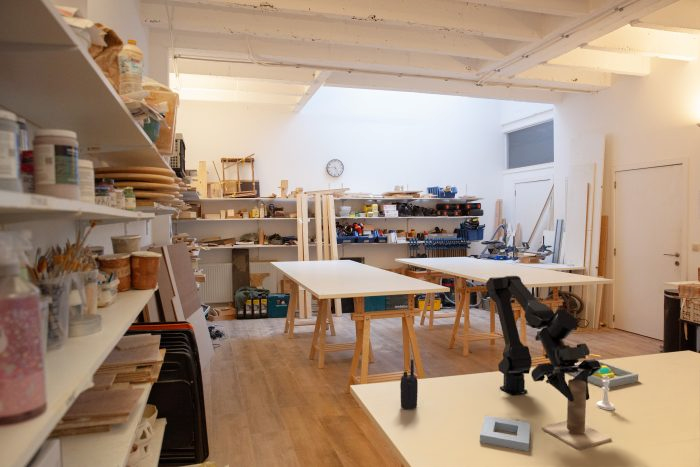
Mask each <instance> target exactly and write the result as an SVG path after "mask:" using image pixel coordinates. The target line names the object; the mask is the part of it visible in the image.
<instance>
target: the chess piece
mask: <svg viewBox="0 0 700 467" xmlns="http://www.w3.org/2000/svg"><path fill="white" fill-rule="evenodd" d="M603 378H605V380H603V381H602V382H603V385H604V387H601V390H603V396H602V400H598V401H597V402H596V407H597V408H599V409H601V410H605V411H606V410H607V411H613V410H615V405H614V404H613V403H611V402H610V400H609V393H608V391H610V388H608V386H609V383H610V381H608V380H607V379H609V377H607V375H605V377H603Z"/></svg>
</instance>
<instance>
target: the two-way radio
mask: <svg viewBox="0 0 700 467" xmlns="http://www.w3.org/2000/svg"><path fill="white" fill-rule="evenodd" d="M414 366H415V365H414V359H413V358H411V359H410V374H408V372H407V371H403V375H402V376H401V378H400V383H399V386H400V387H399V388H400V408H401V409H402V410H414V409H416V408H417V407H418V393H419V392H418V389H419V388H418V378H417V376H416V375H415V373H414V372H415V370H414Z"/></svg>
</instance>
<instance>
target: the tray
mask: <svg viewBox="0 0 700 467" xmlns="http://www.w3.org/2000/svg"><path fill="white" fill-rule="evenodd" d="M596 360H597V361H598V362H599V363H600V365H601V366H604V365H605V366H607V367H608V368H610V370H611V371H612V373H614V375H616V376H614V378H610V379H607V380H608V381H610V383H609V386H608V388H609V389H610V388H615V387H618V386H622V385H628V384H632V383H636V382H639V373H636V372H633V371H630V370H628V369H624V368H621V367H619V366H615V365H613V364H611V363H608V362H604V361H600V360H598V359H596ZM580 363H581V362H578V363H575V365H579V364H580ZM567 374H568V375H571V376H573V377H575V376H574V374H573V373H567ZM603 380H605V379H602V378H600V377H597V376H595V375H592V376H589V377H588V383H591V384H593V385H596V386H598V387H601V388H602V387H604V385H603V382H602V381H603Z"/></svg>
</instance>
